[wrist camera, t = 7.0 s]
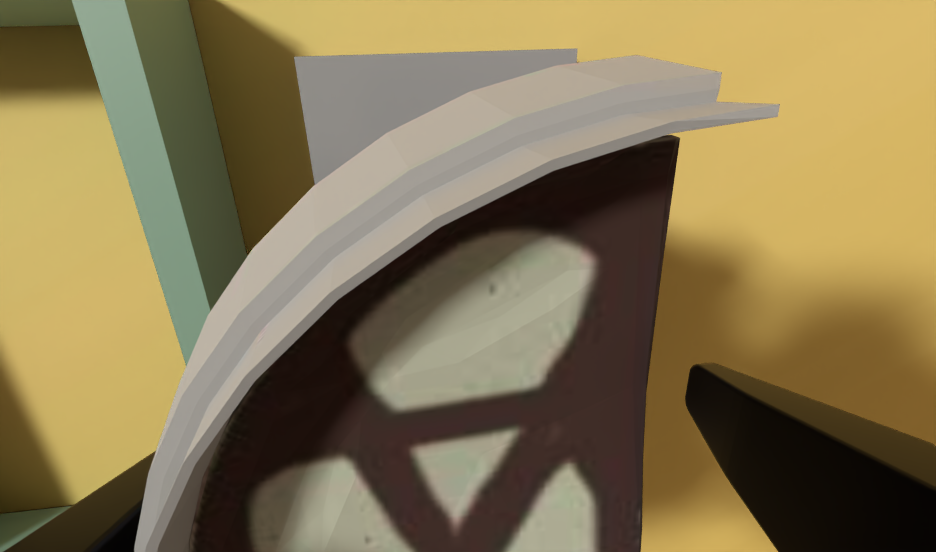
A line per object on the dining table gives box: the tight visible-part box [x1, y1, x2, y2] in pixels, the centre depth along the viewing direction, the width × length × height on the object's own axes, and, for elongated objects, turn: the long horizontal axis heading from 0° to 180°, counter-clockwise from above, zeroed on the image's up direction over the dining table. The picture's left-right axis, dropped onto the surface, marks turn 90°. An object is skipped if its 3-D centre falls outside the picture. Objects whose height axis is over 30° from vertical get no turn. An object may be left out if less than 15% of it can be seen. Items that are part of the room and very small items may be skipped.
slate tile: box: [294, 49, 577, 185], centre depth 15 cm, size 14×8×1 cm, turn 2°
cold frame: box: [0, 0, 247, 552], centre depth 13 cm, size 18×12×3 cm, turn 2°
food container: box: [134, 55, 780, 552], centre depth 9 cm, size 12×6×10 cm, turn 2°
